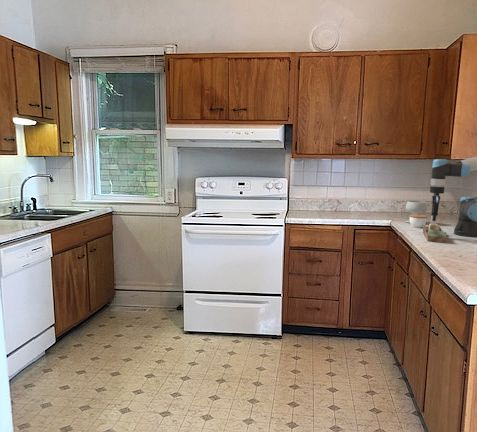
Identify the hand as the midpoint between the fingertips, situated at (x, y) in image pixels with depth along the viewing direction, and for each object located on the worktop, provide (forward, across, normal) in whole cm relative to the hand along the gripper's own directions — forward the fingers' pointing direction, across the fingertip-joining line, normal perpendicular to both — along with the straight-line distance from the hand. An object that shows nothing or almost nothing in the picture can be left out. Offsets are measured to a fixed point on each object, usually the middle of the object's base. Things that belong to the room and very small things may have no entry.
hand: (433, 226), depth 248 cm
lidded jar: (+7, -31, -6) cm, 32 cm away
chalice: (+7, -49, -6) cm, 50 cm away
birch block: (+3, +3, 0) cm, 4 cm away
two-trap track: (+6, +3, 0) cm, 7 cm away
